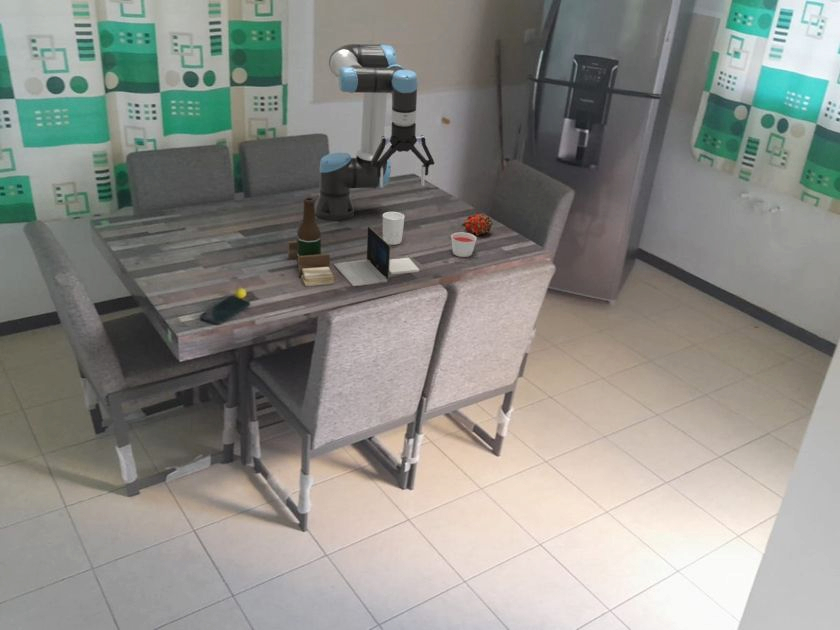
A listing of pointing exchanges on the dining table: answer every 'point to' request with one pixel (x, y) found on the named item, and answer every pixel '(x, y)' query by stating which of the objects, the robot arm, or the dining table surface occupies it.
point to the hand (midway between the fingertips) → (402, 185)
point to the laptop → (369, 263)
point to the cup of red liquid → (463, 244)
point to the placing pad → (402, 266)
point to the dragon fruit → (477, 224)
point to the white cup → (393, 227)
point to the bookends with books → (312, 267)
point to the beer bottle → (308, 232)
